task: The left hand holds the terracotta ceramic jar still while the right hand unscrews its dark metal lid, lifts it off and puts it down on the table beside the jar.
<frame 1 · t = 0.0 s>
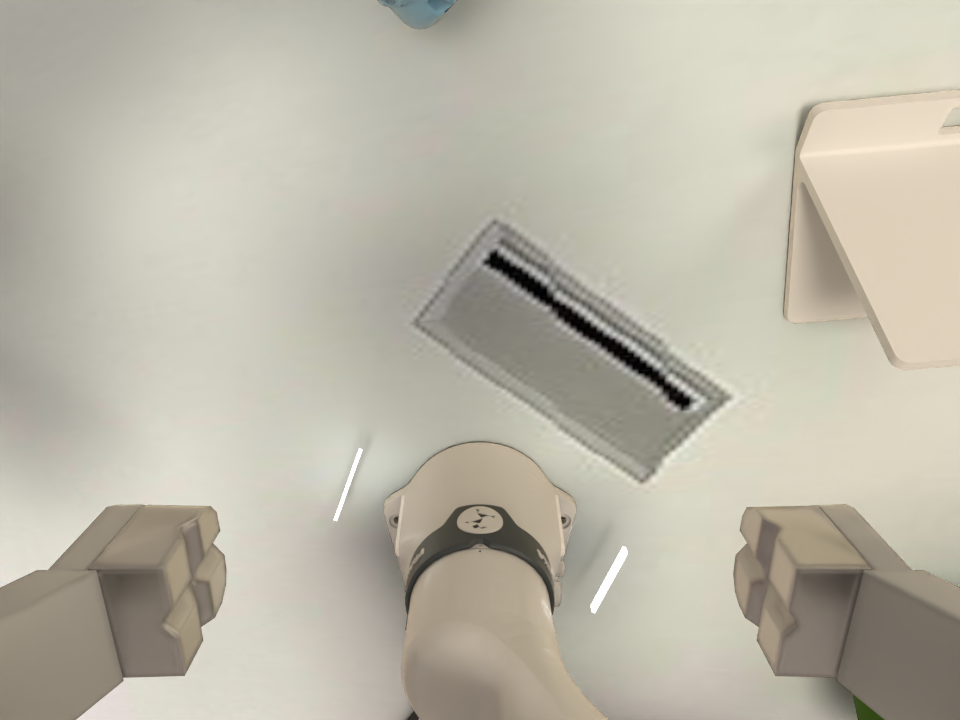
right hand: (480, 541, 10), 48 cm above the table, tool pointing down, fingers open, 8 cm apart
vase: (896, 641, 72), on the table
tablet stand: (941, 204, 56), on the table
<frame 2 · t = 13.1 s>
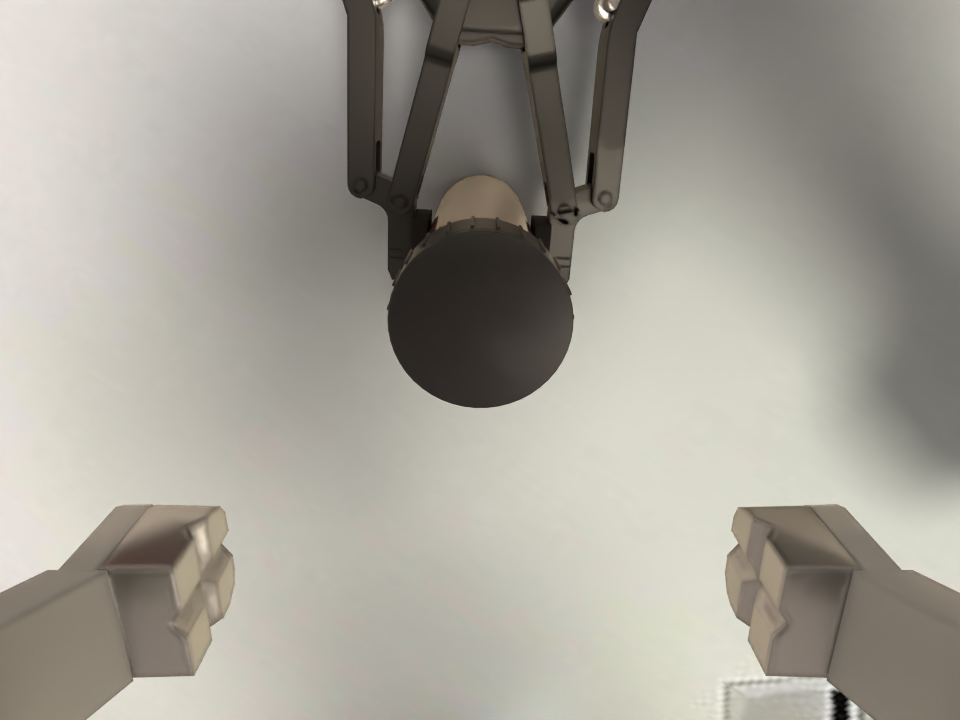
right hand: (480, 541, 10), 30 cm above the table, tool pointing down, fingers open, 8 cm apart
left hand: (474, 343, 35), fingers closed on jar, 5 cm apart
lid: (480, 320, 21), point 19 cm above the table, screwed on, not yet turned
jar: (480, 219, 39), on the table, touching left hand
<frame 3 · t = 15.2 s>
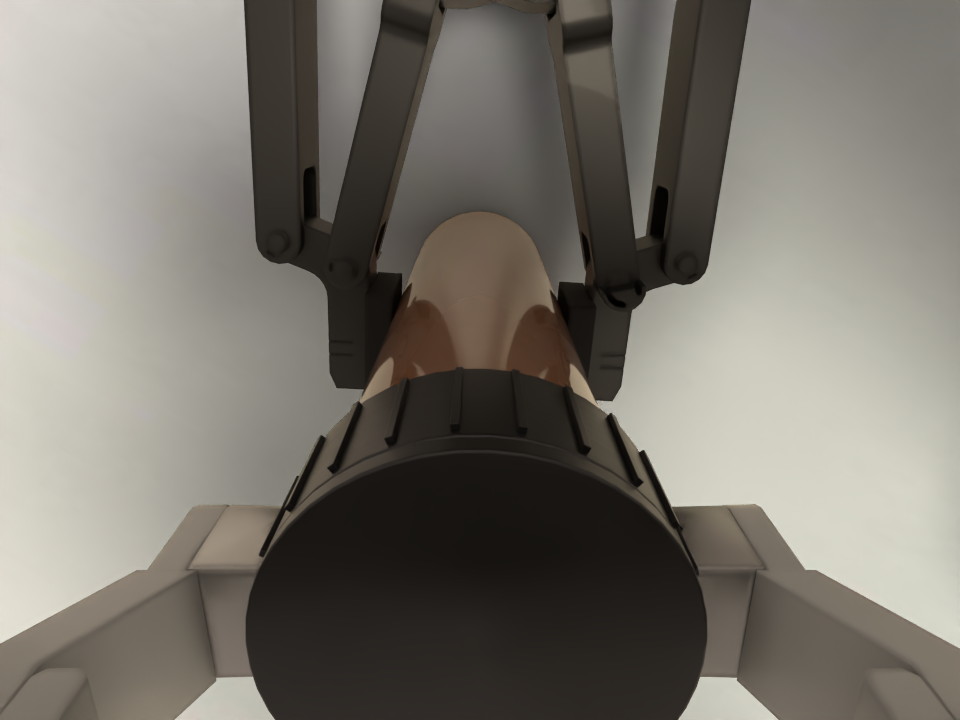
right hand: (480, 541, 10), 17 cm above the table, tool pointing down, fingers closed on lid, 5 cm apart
left hand: (470, 477, 22), fingers closed on jar, 5 cm apart
lid: (476, 633, 9), point 19 cm above the table, screwed on, not yet turned, touching right hand
jar: (479, 275, 27), on the table, touching left hand
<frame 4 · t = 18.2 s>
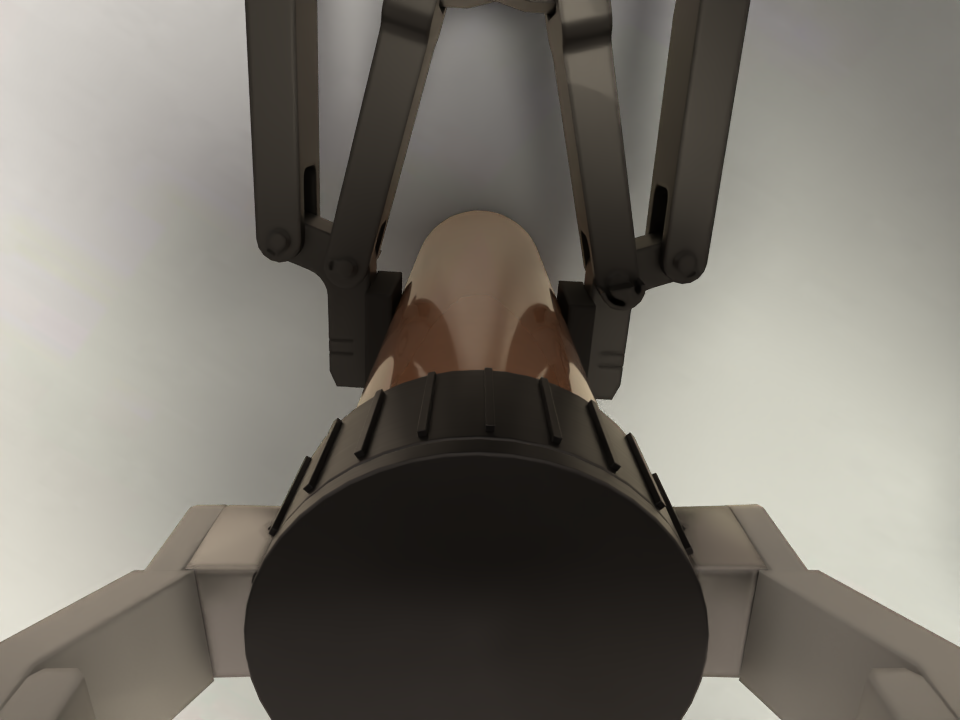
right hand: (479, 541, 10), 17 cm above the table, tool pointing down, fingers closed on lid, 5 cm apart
left hand: (469, 476, 22), fingers closed on jar, 5 cm apart
lid: (476, 636, 9), point 19 cm above the table, turned 70° so far, risen 0.1 cm, still on its thread, touching right hand
jar: (478, 273, 27), on the table, touching left hand
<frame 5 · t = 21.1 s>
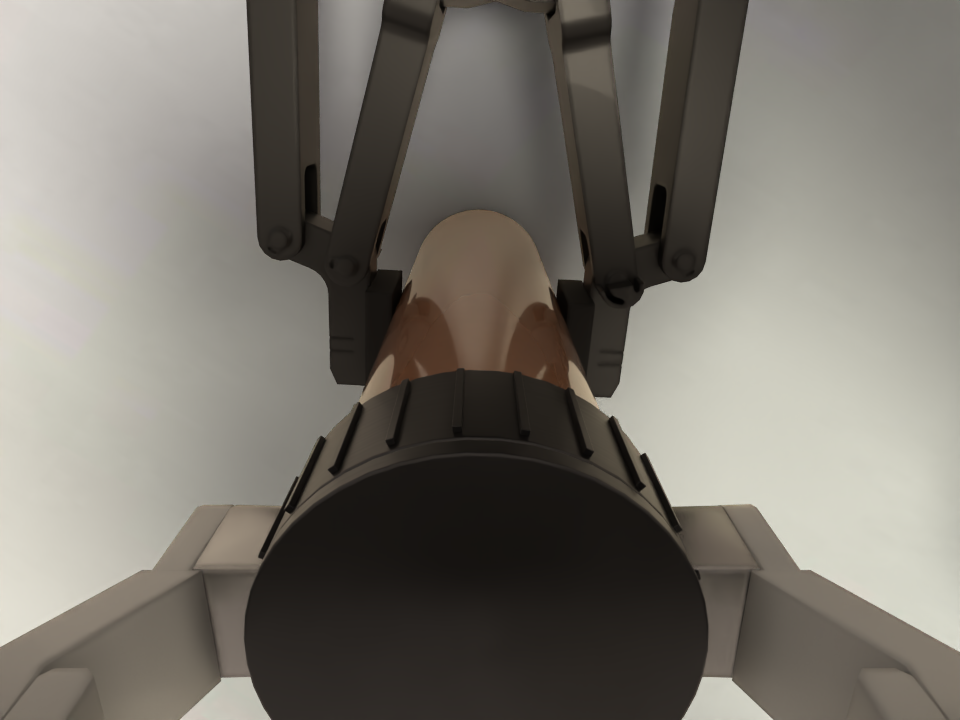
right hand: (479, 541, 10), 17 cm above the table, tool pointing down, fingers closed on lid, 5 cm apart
left hand: (469, 473, 22), fingers closed on jar, 5 cm apart
lid: (476, 636, 9), point 19 cm above the table, turned 141° so far, risen 0.2 cm, still on its thread, touching right hand
jar: (478, 272, 27), on the table, touching left hand
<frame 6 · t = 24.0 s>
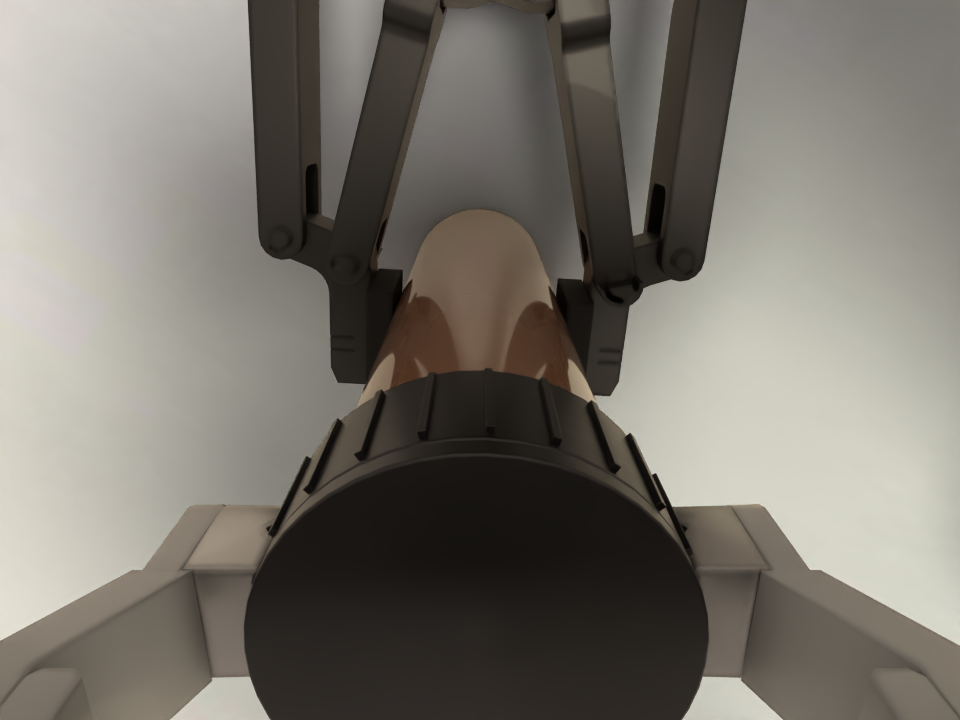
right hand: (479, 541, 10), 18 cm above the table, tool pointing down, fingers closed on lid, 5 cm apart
left hand: (469, 472, 23), fingers closed on jar, 5 cm apart
lid: (476, 637, 9), point 20 cm above the table, turned 211° so far, risen 0.3 cm, still on its thread, touching right hand
jar: (478, 272, 27), on the table, touching left hand
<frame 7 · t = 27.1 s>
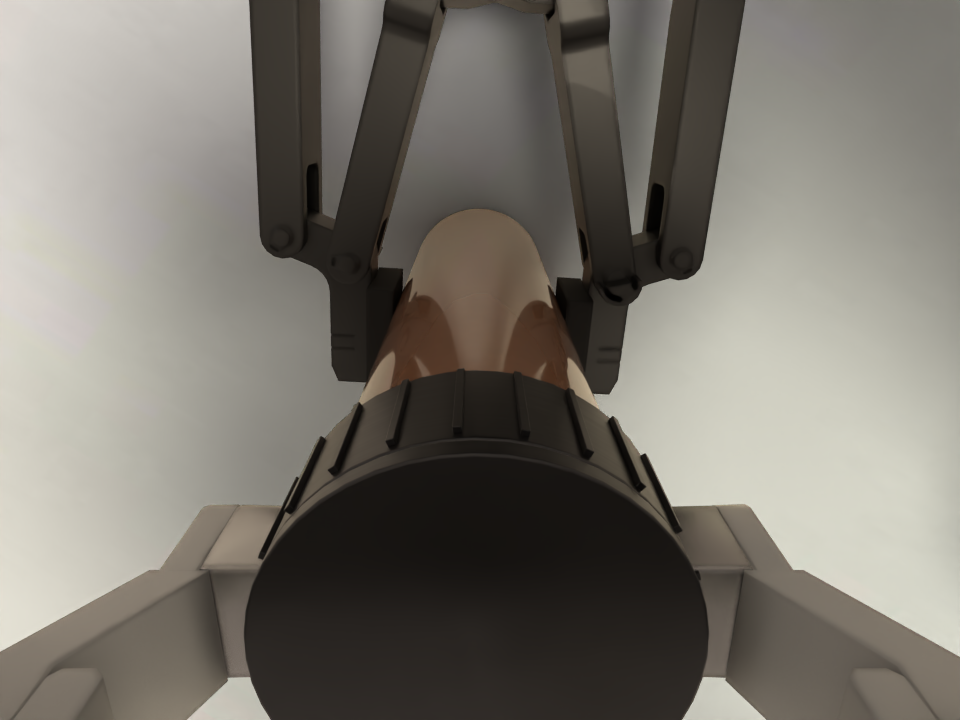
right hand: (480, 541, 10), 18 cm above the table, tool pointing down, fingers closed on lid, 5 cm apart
left hand: (469, 470, 23), fingers closed on jar, 5 cm apart
lid: (476, 637, 9), point 20 cm above the table, turned 282° so far, risen 0.5 cm, still on its thread, touching right hand
jar: (478, 271, 27), on the table, touching left hand
when the right hand's fingers open (2 cm above the table, at t = 36.9 s): lid drops 2 cm, point 2 cm above the table.
when the left hand's fingers open (7 cm above the table, at t = 37.8 s): jar stays where it is, on the table.
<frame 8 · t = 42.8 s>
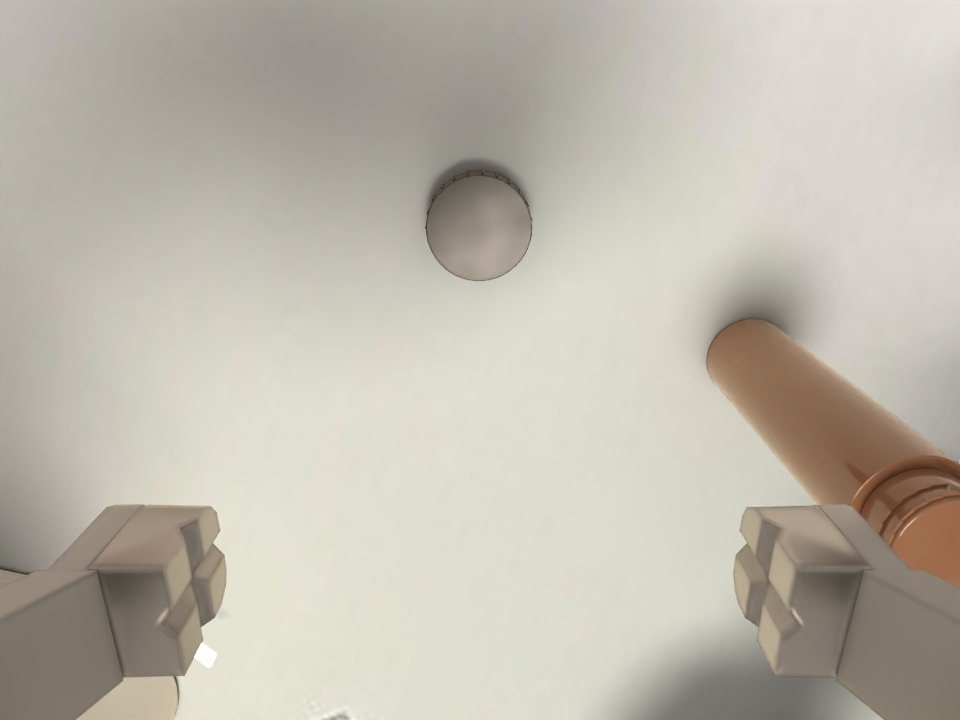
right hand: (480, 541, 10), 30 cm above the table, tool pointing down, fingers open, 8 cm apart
lid: (478, 228, 36), point 2 cm above the table, off its thread
jar: (747, 357, 41), on the table
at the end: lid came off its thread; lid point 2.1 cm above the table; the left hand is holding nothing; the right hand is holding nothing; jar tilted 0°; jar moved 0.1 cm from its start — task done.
